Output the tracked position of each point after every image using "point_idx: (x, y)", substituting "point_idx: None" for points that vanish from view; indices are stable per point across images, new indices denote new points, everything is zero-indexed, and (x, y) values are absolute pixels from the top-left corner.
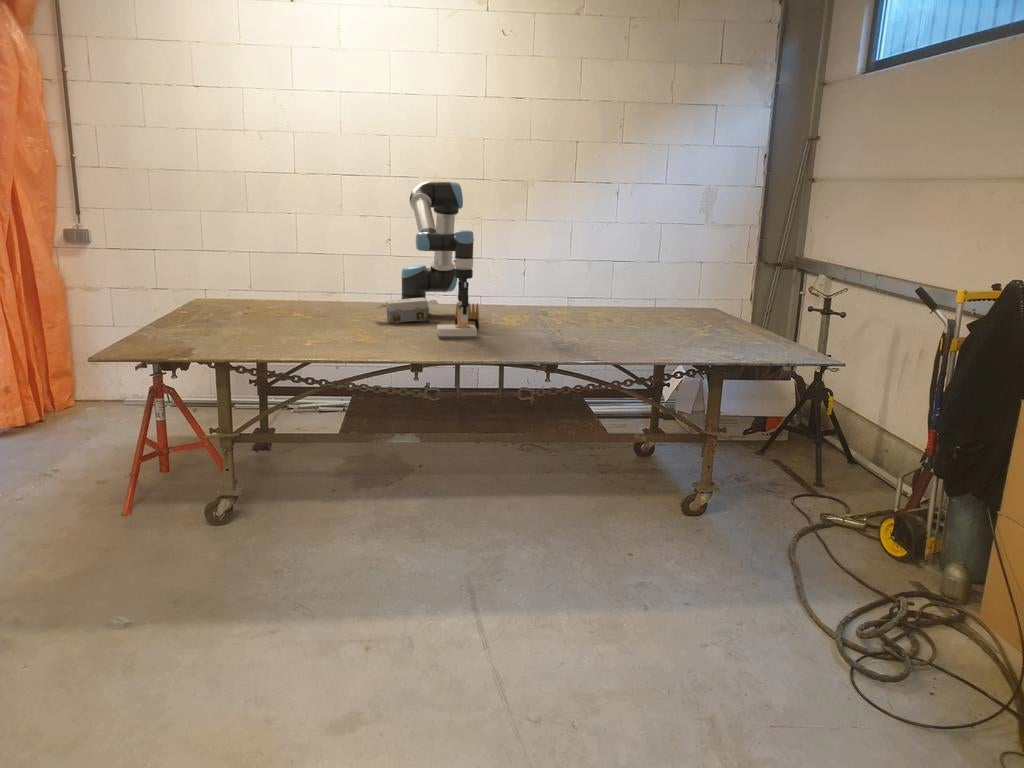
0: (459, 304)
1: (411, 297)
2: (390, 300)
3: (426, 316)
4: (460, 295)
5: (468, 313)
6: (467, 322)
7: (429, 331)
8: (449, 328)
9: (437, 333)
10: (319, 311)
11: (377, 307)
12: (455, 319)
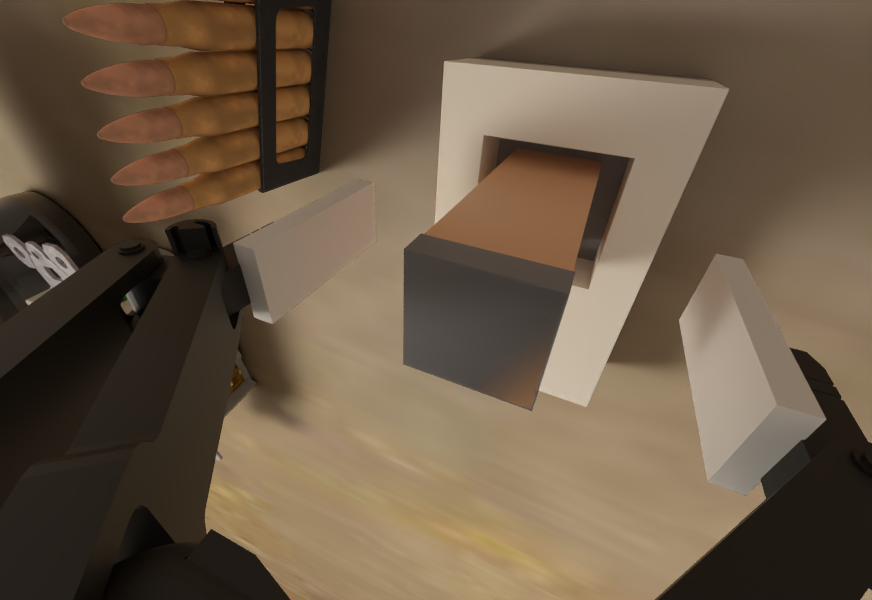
0: (299, 290)
1: (18, 310)
2: None
3: None
4: (223, 378)
5: (216, 87)
6: (590, 202)
7: (388, 326)
8: (581, 338)
9: None
10: None
11: (216, 458)
12: (270, 189)
